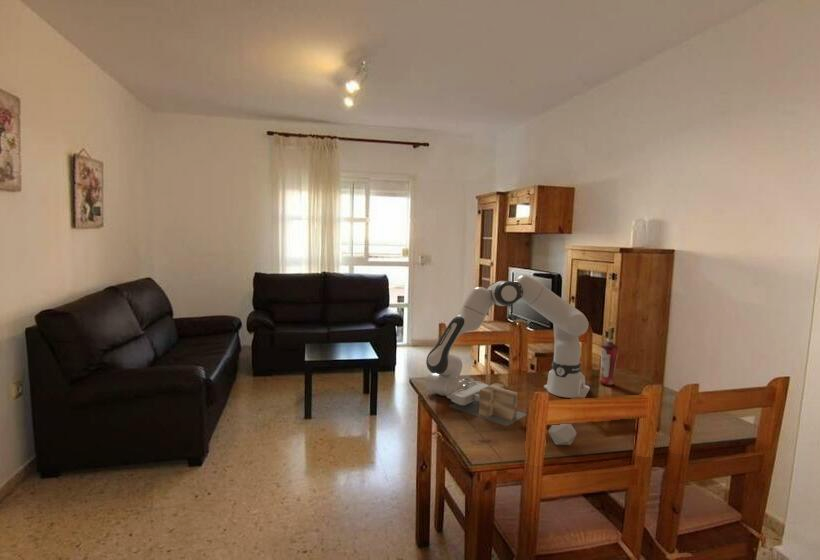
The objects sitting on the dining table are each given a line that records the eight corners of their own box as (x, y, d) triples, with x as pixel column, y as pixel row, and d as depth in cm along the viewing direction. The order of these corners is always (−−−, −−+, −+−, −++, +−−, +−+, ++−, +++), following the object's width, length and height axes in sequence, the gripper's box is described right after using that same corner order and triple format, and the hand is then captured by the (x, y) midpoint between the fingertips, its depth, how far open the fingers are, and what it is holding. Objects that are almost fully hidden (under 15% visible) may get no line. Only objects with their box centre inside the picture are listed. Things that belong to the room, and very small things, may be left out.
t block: (494, 406, 192) (495, 382, 191) (521, 414, 184) (522, 390, 183) (478, 414, 183) (480, 389, 182) (505, 423, 175) (507, 398, 174)
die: (570, 453, 155) (584, 428, 157) (548, 438, 156) (562, 413, 158) (562, 450, 163) (575, 426, 165) (541, 436, 164) (554, 412, 166)
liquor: (595, 382, 228) (599, 325, 225) (607, 381, 230) (612, 325, 227) (605, 387, 221) (610, 329, 218) (618, 386, 223) (623, 329, 220)
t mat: (470, 396, 202) (470, 396, 202) (527, 414, 185) (527, 414, 185) (448, 406, 190) (448, 406, 190) (507, 427, 173) (507, 426, 173)
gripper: (444, 388, 188) (473, 397, 179) (472, 377, 203) (500, 385, 194) (443, 403, 188) (472, 413, 179) (471, 391, 204) (499, 399, 195)
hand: (487, 398), depth 187 cm, fingers closed
